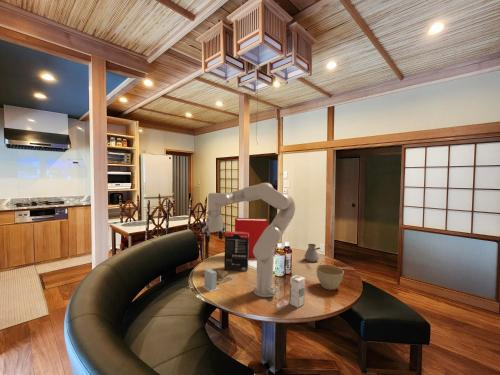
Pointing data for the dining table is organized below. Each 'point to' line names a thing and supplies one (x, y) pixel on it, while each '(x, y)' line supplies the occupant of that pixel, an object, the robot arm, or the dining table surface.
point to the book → (251, 230)
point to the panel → (210, 279)
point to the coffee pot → (311, 253)
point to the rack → (222, 280)
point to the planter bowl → (329, 276)
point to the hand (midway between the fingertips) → (214, 240)
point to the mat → (209, 289)
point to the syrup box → (297, 291)
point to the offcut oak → (222, 279)
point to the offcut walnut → (222, 274)
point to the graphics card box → (236, 251)
